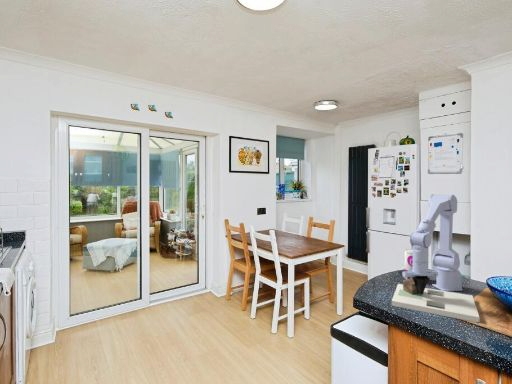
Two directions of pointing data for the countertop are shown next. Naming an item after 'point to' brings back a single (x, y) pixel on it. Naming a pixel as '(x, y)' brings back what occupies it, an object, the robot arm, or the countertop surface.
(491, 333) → the countertop surface
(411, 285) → the walnut block
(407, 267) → the supplement can
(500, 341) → the countertop surface
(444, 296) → the board
